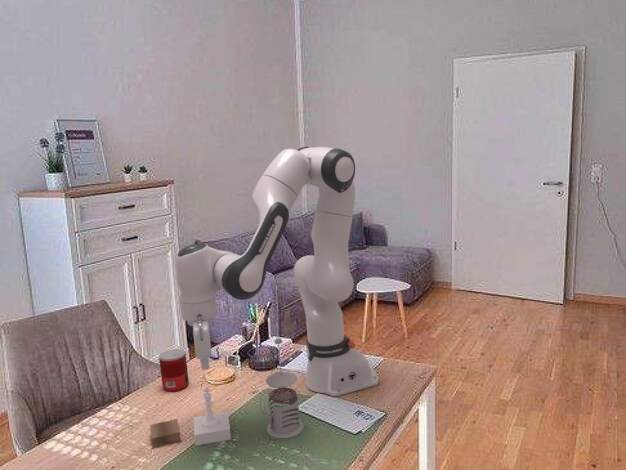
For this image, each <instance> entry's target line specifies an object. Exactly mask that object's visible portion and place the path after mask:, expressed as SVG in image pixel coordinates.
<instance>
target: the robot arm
mask: <svg viewBox="0 0 626 470" xmlns="http://www.w3.org/2000/svg"><path fill="white" fill-rule="evenodd" d="M355 174H356V164H355V159H354V157H353V155H352V154H351V153H350V152H348V151H346V150H344V149H341V148H333V147H329V146H328V147H327V146H316V147H315V146H302V147H300V148H297V149H295V148H286V149H283V150H281V151H280V152H279V153H278V154H277V155H276V157H275V158H274V159H272V161H271V162H270V163H269V165H268V166H267V167H266V169H265V170H264V172H262V175H261V176H260V178H259V179H258V181H257V183H256V184H255V187H254V189H253V192H252V195H251V201H252V205H253V207H254V209H255V211H256V212H257V214H258V216H259V224H258V226H257V229H256V231H255V233H254V235H253V237H252V239H251V241H250V243H249V245H248V247H247V249H246V251H245V252H244V253H243V254H241V255H239V254H238V253H235V252H231V251H228V250H220V249H216V248H214V247H211V246H208V245H207V244H206V243H194V244H190V245H189V244H188V245H187V246H185V247H183V248H182V249H180V250H179V251H178V253H177V256H176V258H175V259H176V262H175V264H176V265H175V268H176V269H175V270H176V280H177V281H176V282H177V286H178V288H179V305H180V306H179V307H180V314H181V319H182V320H183V321H185V322H187V325H188V326H190V327H192V335H193V343H194V352H195V357H196V359H197V360H199V361H200V363H201V364H200V367H201V370H202V371H206V370H209V369H210V365H209V364H210V361H209V359H210V358H211V356H212V346H211V336H210V324H211V323H213V321H214V317H216V316H217V315H218V306H217V297H216V292H218V291H221V290H222V291H224V292H226V293H227V294H228V295H230V296H231V297H232V298H233V299H236V300H239V301H244V300H250V299H252V298H253V297H255V296H257V294H259V293H260V291H261V290H262V289H263V287H264V284H265V281H266V275H267V271H268V267H269V264H270V262H271V259H272V257H273V255H274V253H275V251H276V249H277V247H278V245H279V243H280V241H281V239H282V236H283V235H284V232H285V231H286V227H287V225H288V222H289V218H290V213H291V210H292V208H293V206H294V204H295V202H296V200H297V199H298V197H299V196H300V193H302V190H303V187H304V186H305V185H310V186H314V187H317V190H318V199H317V202H316V206H315V212H314V216H313V217H314V218H313V223H312V228H311V235H310V236H311V240H312V244H313V252H314V253H313V254H314V255H313V254H310V255H305V256H301V257H300V258H299V259H298V260H297V261H296V262H295V264H294V267H293V275H294V279H295V280H296V283H297V285H298V289H299V290H298V291H299V293H300V298H301V303H302V306H303V310H304V313H305V323H306V333H307V338H306V342H305V343H306V350H305V351H306V357H307V372H306V378H305V382H304V383H305V384H304V386H305V387H307V388H308V389H309V390H310V391H313V392H315V393H321V394H327V395H328V396H332V397H338V396H342V395H346V394H349V393H353V392H357V391H359V390H363V389H367V388H371V387H374V386H377V385H378V384H379V380H380V379H379V376H378V374H377V371H376V370H375V369H374V368H373V367H371V366H370V363H369V361H368V359H367V357H366V356H365V355H364V354H362V353H361V352H360V351H358V350H357V349H355V347H356V343H355V342H354V341H353V340H352V339H350V337H348V336H347V335H345V334H344V314H343V311H342V309H341V307H340V305H339V303H341V302H344V301H345V300H347V299H348V298H349V297H350V296H351V294H352V293H353V290H354V285H355V284H354V278H353V275H352V273H351V270H350V262H349V260H350V259H349V241H350V233H351V228H352V223H353V222H352V221H353V218H354V217H353V216H354V210H355V203H356V202H355V199H356V186H355V183H354V182H353V181H354V179H355V176H356V175H355Z"/></svg>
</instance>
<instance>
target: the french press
mask: <svg viewBox="0 0 626 470" xmlns="http://www.w3.org/2000/svg"><path fill="white" fill-rule="evenodd" d="M274 344H276V345H277V346H278V348H277V349H278V360H279V361H281V354H280V352H281V351H280V345H281V344H283V340H282V338H280V337H278V338H275V340H274ZM281 365H282V364H281V362H279V369H280V371H277V372H274V373H272V374H271V375H269V376H267V378H266V379H265V382H266V385H268V387H270V388H274V389H273V390H272V391H271V390H269V388H267V389H265V390H264V391H263V393H262V394H261V397H260V401H259V407H260V408H259V409H260V411H261V413H262V414H263V415H265V416H266V417H268V418H269V424H268V425H267V427H266V433H267V434H268V435H269V436H271V437H274V438H276V439H286V438H287V439H288V438H292V437H295V436H298V435H299V434H300V433H301V432H303V430H304V427H305V426H304V423H303V422H302V421H301V420H300V409H299V398H298V395H297V391H296V389H294V388H292V387H291V386H292V385H294V384H295V383H296V382H297V380H298V377H297V375H296V374H294V373H292V372H290V371H284V370H283V371H282V366H281ZM266 392H268V393H267V395H266V397H265V399H264V403H263V409H264V410H263V409H262V399H263V397H264V394H265V393H266ZM267 398H268V400H267ZM267 401H268V412H269V414H268V413H267V411H266V402H267ZM273 404H274V405H273ZM277 404H280V405H277ZM284 405H286V406H284Z"/></svg>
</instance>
